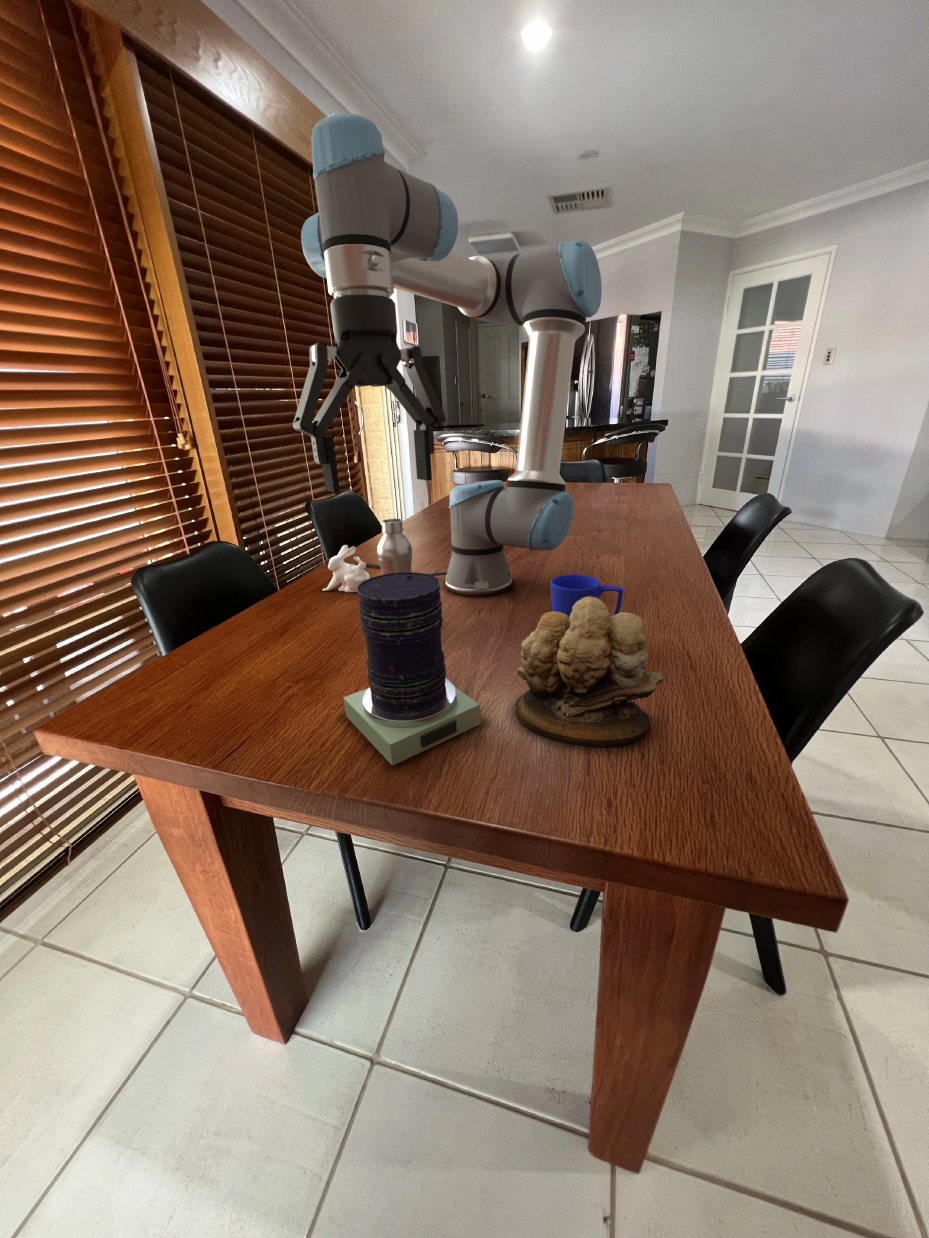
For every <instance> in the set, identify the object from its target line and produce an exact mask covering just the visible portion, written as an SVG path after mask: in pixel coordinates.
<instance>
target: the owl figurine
mask: <svg viewBox="0 0 929 1238" xmlns="http://www.w3.org/2000/svg"><path fill="white" fill-rule="evenodd" d="M569 618H570V619H569ZM645 633H646V627H645V623H644V620H643V618H642V617H640V616H639V615H636V614H634V613H633V612H632V613H630V612H623V611H619V613H618V614H616V615H614V614H613V615H611V614H610V613H609V609H608V607H607V604H606V603H604V602H603V601H602V600H601V599H600V598H599V599H598V598H596V597H591V596H589V597H585V598H582V599H581V600H579V601H577V602H576V603H575V604H574V605H573V607H572V612H571V615H570V616H569V617H568V616H567V615H566V614H564V613H561V612H557V611H556V612H555V611H552V610H551V611H548V612H545V613H543V614H542V615H541V616H540V618H539V621H538V623H537V624H536V628H535V630H534V631H533V630H532V631H531V633H530V634H529V635H528V636H527V637H526V638H525V639H524V640H523V641H522V642H521V645H520V646H521V651H520V656H521V658H520V663H521V666H520V667H519V668H517V671H516V672H517V676H519V678H521V679H522V680H523V681H526V684H527V686H528V689H529V690H527V691H525V693H524V694H522V695H520V697H518V699H517V700H516V702H515V706H514V708H515V709H514V710H515V711H514V714H515V716H516V718H517V720H518V722H519V723H520V724H521V725H522V726H524V727H525V728H527V729H529V730H530V731H532V732H534V733H537V734H539V735H542V736H544V737H546V738H550V739H552V740H556V741H559V742H564V743H569V744H574V745H583V746H589V747H612V746H613V747H615V746H621V745H626V744H630V743H633V742H636V741H638V740H640V738H641V737H644V736H645V735H646V734H647V731H648V729H649V726H650V717H649V716H648V714H647V713H646V711H645V710H643V709H642V708H641V707H640V706H639V705H638V704H637V703H636V702H635V701H634V700H638V699H639V700H643V699H646V698H649V697H650V696H652V695H653V693H654V692H655V691H657V686H659V685H661V684H662V683H663V681H664V676H663V674H662V673H661V672H660V671H653V672H649V673H648V672H645V671H646V668H647V665H648V662H647V661H648V659H649V653H647V648H646V642H647V640H646V635H645Z"/></svg>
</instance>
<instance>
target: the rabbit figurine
mask: <svg viewBox="0 0 929 1238" xmlns="http://www.w3.org/2000/svg"><path fill="white" fill-rule="evenodd" d="M356 551H357V548H356V547H355V546H353V545H352V546H351V547H349V546H348V544H344V545H342V546H341V548H340V550H339V552H338V553H337V555H334V556H332V557H331V558H329V559H330V561H329V563H328V565H327V568H328V570H329V571H331V572H332V575H333V576H332V577H331V580H330V581H329V583H328V585H327V587H326V588H323V589H322V590H321V591H323V592H325V591H328V592H329V591H331V590H333V589H335V588H336V587H338V585H339V584H340V583H341V586H339V587H338V592H344V593H358V591H357V587H358V585H359V584H360V583H362V582H363V581H365V580H367V579H370V578H371V577H370V574H369V572H367V571H366V570H365V569H366V568H367V566H366V564H365V563H366V562H364V561H362V560H361V558H360V557H359V556H353V560H354V561H356V563H359V564H358V565H357V566H356V565H354V564H348V563H349V562H345V561H344V559H346V558H348V557H350V556H352V555H353V554H355V553H356Z"/></svg>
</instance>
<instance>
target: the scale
mask: <svg viewBox="0 0 929 1238" xmlns="http://www.w3.org/2000/svg"><path fill="white" fill-rule="evenodd" d="M367 689H368V688H365V689H362V690H359V691H357V692H354V693H352V694H348V695H346V696H344V697H343V698H342V699H343V705H344V712H345V717H346V718H347V719H348V720H349V721H350V722H351V724H352V725H354V726H355V728H356V729H357V730H358V731H359V732H360V733H361V735H363V736H364V737H365V738H366V739H367V741H368V742H370V744H371V745H372V746H373V747H374V748H375V749H376V750H377V751H378V752H379V753H380V755H382V756H383V757H384V758H385V760H386V761H387V762H388V763H389V764H390V765H391V766H395V765H398V764H400V763H402V762H403V761H406V760H408V759H410V758H412V757H414V756H416V755H418V754H421V753H422V752H425V751H427V750H429V749H431V748H433V747H436V746H437V745H440V744H441V743H443V742H446V741H448V740H450V739H452V738H455V737H456V736H458V735H461V734H463V733H464V732H467V731H469V730H471V729H473V728H475V727H478V726H479V725H482V722H481V721H482V720H481V718H482V717H481V703H479V702H477V701H476V700H475V699H473V698H472V697H470V696H468V695H467V694H466V693H464V692H463V691H461V690H460V689H459V688H457V687H455V690H456V703H455V705H454V707H453V709H452V710H451V711H450V712H449V713H448V714H447V715H446V716H444V717H443V718H441V719H439V720H437V721H435V722H432V723H430V724H426V725H423V726H418V727H411V728H394V727H388V726H384V725H380V724H378V723H376V722H374V721H372V720H371V719H370V718H368V716H367V715H366V714H365V712H364V708H363V696H364V694H365V692H366V690H367Z"/></svg>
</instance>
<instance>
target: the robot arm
mask: <svg viewBox="0 0 929 1238" xmlns="http://www.w3.org/2000/svg"><path fill="white" fill-rule="evenodd" d="M385 156H386V150H385V149H384V144H383V137H382V133H381V132H380V130H379V128H378V127H377V125H376V123H374V121H372V120H371V119H369V118H367V117H365V116H363V115H361V114H357V113H351V112H337V113H332V114H331V113H330V114H328V115H326V116H325V117H323V118H321V119H319V120H318V121H317V122H315V124H314V126H313V128H312V131H311V159H312V171H313V172H312V178H313V181H314V187H315V196H316V202H317V209H318V212H317V213H314V214H313V215H311V216H309V217H308V218H307V219H306V220H305V221H304V223H303V225H302V228H301V234H300V239H301V248H302V253H303V255H304V258H305V260H306V262H307V264H308V265H309V267H310V268H311V270H312V271H313V272H314V273H315V274H316V275H318V276H319V277H321V278H323V279H326V282H327V291H328V294H329V295H330V296H331V297H332V298H333V299H332V300H331V302H330V303H329V306H330V314H331V322H332V323H331V324H332V330H333V335H334V346H331V345H327V343H325V342H323V341H319V342H316V343H313V344H311V345H310V346H309V367H308V370H307V375H306V378H305V382H304V385H303V388H302V391H301V395H300V398H299V403H298V404H297V408H296V409H297V410H296V412H295V416H294V419H293V422H292V427H293V429H294V430H295V431H297V432H301V433H303V434H306V435H308V436H309V438H310V440H311V447H312V455H313V460H314V462H315V464H316V465H319V466H320V465H321V466H322V472H323V480H324V486H325V491H326V492H330V493H333V494H335V493H341V489H340V482H339V474H338V467H337V459H336V452H335V444H334V437H333V435H326V433H327V432H328V430H329V428H330V427H331V425H332V423H333V421H334V420H335V418H336V417H337V415H338V413H339V412H340V409H341V408H342V407H343V405H344V403H345V402H346V399H347V397H348V396H349V395H350V393H351V391H352V390H353V389H354V388H355V387H357V388H363V387H369V386H370V387H373V388H374V387H375V388H379V387H385V388H386V389H387V390H388V391H390V392H391V393H392V395H393V396H394V398H396V400H397V401H398V402H399V404H400V405H401V406H402V407H403V409H404V410H405V412H406V413H407V414H408V415H409V417H410V418H411V419H412V420H413V422H414V424H416V426H417V427H418V428H419V429H413V438H414V439H413V441H414V442H413V443H414V454H415V456H414V457H415V470H416V480H420V481H432V479H433V477H432V476H433V475H432V461H431V460H432V459H431V455H433V454H434V453H435V435H434V430H437V429H438V427H439V425H441V424H444V423H445V422H446V419H447V418H446V414H445V413H444V411H443V408H442V405H441V404H440V401H439V398H438V396H437V394H436V392H435V389H434V387H433V385H432V383H431V380H430V379H429V376H428V375H427V374H428V373H427V372H426V369H425V367H424V363H423V356H422V351H421V348H420V347H419V346H418V345H414V346H410V347H406V348H401V349H400V347H399V345H398V341H397V339H398V337H397V336H398V321H397V312H396V311H397V310H396V309H397V308H396V302H395V301H394V300H393V299H392V298H390V297H392V296H393V294H394V293H395V289H396V290H399V291H403V292H406V293H408V294H413V295H416V296H420V297H423V298H427V299H429V300H433V301H437V302H440V303H443V304H446V305H450V306H454V307H456V308H457V309H458V310H459V311H460V312H461V313H462V314H463V315H464V316H466V317H469V318H472V319H476V320H479V321H483V322H487V323H490V324H495V325H499V326H504V327H505V326H506V327H521V331H522V332H523V333H524V335H525V336H526V338H527V339H528V344H527V345H528V346H527V354H526V355H527V356H526V363H525V365H526V366H525V373H524V386H523V396H522V406H521V416H520V426H519V435H518V436H519V437H518V448H517V456H516V457H517V458H516V466H515V467H516V468H515V471H514V473H513V474H511V475H510V476H509V477H508V478H507V480H506V488H505V484H504V481H502V479H501V480H499V479H493V480H492V479H491V480H483V481H477V482H470V483H466V484H460V485H457V486H454V487H453V488H451V490H450V491H449V506H448V510H449V525H450V536H451V537H450V538H451V539H450V540H451V557H450V560H449V564H448V568H447V571H441V572H440V571H439V572H438V571H437V572H432V573H427V574H428V575H432V576H434V577H437V576H445V588H446V589H447V590H448V591H449V592H451V593H453V594H457V595H461V596H467V597H468V596H469V597H471V596H473V597H482V596H483V597H485V596H490V595H491V596H492V595H496V594H500V593H503V592H505V591H507V590H509V589H510V588H511V587H512V585H513V578H512V573H511V571H510V567H509V565H508V561H507V558H506V554H505V549H504V546H507V547H515V548H522V549H527V550H528V549H529V550H530V551H553V550H555V549H557V548H558V547H559V546H561V544H562V543H563V541H565V539H566V537H567V536H568V534H569V532H570V529H571V526H572V524H573V519H574V515H575V505H574V498H573V496H572V495H571V494H570V493H568V492H567V491H566V485H567V483H566V481H565V480H564V478H563V477H562V476H561V474H560V471H561V464H562V463H561V462H562V454H563V445H564V437H565V429H566V420H567V414H568V413H567V411H568V404H569V397H570V396H569V394H570V386H571V377H572V370H573V362H574V354H575V353H574V352H575V346H576V345H575V344H576V341H577V340H578V339H579V338H581V336H582V335H583V334H584V333H585V330H586V322H587V318H592V317H593V316H595V315H596V314H597V313H598V312H599V309H600V307H601V301H602V292H603V290H602V289H603V288H602V287H603V286H602V275H601V269H600V266H599V260H598V257H597V255H596V253H595V250H594V249H593V247H592V246H591V245H590V244H589V242H586V241H585V240H582V239H578V240H572V241H567V242H566V241H561V242H560V243H557V244H552V245H549V246H545V247H542V248H538V249H533V250H529V251H525V252H524V251H523V252H521V253H520V252H519V253H514V254H511V255H507V256H501V257H496V258H487V257H485V256H483V255H474V256H471V257H467V256H466V255H462V254H460V253H458V252H455V251H453V248H454V246H455V244H456V241H457V238H458V234H459V216H458V211H457V208H456V205H455V203H454V201H453V200H452V198H451V197H450V196H449V195H448V194H447V193H446V192H444V191H442V190H440V189H439V188H437V186H436V185H434V184H433V182H427V181H425V180H423V179H420V178H418V177H416V176H413V175H412V174H409V173H408V172H405V171H403V170H401V169H399V168H396V167H395V166H394V165H392V164H391V163H389V162H386V161H385ZM333 359H334V360H335V362H336V363H337V365H338V366H339V368H340V369H341V370H340V373H339V374H338V376H337V377H336V379H335V381H334V385H333V387H332V389H331V390H330V392H329V394H328V395H327V397H326V398H325V400H324V401H323V403H322V406H321V407H320V408H319V410H318V412H317V413H316V415H315V412H316V410H317V405H318V402H319V400H320V399H319V398H320V396H321V393H322V389H323V385H324V382H325V379H326V375H327V372H328V366H330V365H331V364H332V362H333ZM400 362H401V365H402V366H403V367H404V368H405V371H406V374H407V376H408V378H409V380H410V382H411V385H412V386H413V389H414V391H415V393H414V392H413V391H412V390H411V388H410V387H409V385H408V384H407V383H406V378H405V377H404V376H403V374H402V373H401V372H400V370H399V369H398V366H399V364H400ZM415 394H416V395H417V396H416V395H415ZM417 397H418V398H417ZM314 416H315V417H314ZM330 559H331V558H328V559H327V560H326V561H325V564H329V561H330ZM347 563H348V564H354V565H356V566H357V565H358V564H359V562H347ZM364 563H365V564H366V567H373V568H380V569H381V567H380V564H378V563H367V562H364Z"/></svg>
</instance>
